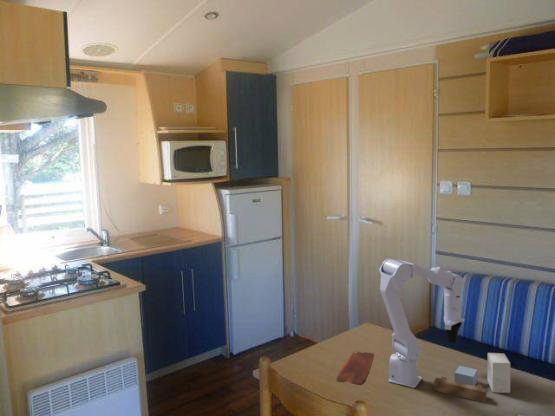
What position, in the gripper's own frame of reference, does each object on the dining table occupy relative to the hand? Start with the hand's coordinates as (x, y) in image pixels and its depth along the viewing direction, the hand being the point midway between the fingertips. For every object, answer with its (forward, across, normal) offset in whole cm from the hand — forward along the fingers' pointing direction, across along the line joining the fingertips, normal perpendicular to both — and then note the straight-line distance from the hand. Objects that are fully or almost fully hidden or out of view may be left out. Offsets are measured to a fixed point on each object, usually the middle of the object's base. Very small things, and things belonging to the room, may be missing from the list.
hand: (452, 341), depth 179 cm
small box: (+11, -7, -16) cm, 21 cm away
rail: (+10, -18, -6) cm, 21 cm away
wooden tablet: (+11, -14, +32) cm, 36 cm away
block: (+10, -9, -6) cm, 15 cm away
